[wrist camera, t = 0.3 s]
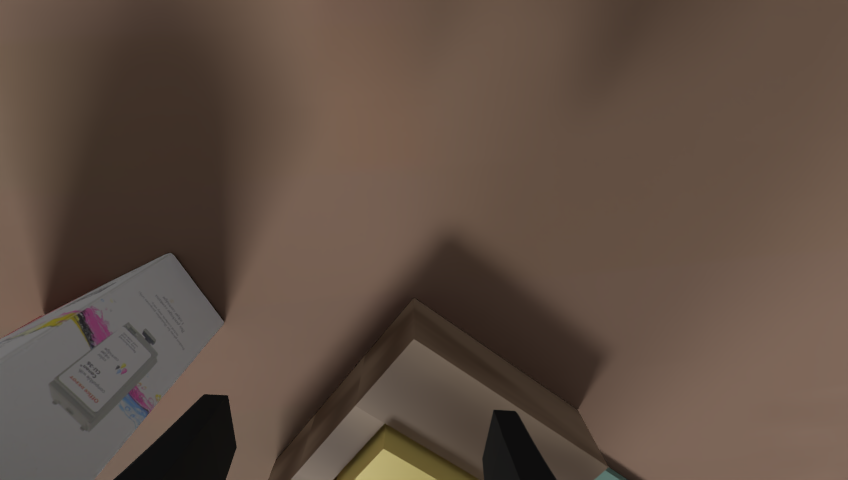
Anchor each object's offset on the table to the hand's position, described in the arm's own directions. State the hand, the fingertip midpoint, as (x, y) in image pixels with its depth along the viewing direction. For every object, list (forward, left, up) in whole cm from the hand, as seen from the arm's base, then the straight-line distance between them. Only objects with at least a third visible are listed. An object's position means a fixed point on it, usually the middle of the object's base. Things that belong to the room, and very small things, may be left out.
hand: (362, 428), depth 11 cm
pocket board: (-7, -8, -11) cm, 15 cm away
